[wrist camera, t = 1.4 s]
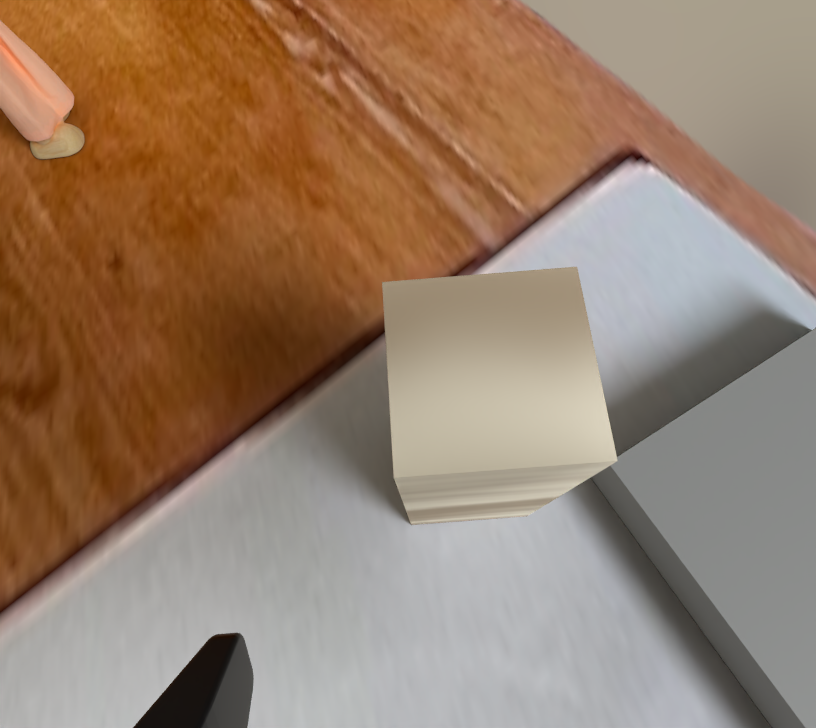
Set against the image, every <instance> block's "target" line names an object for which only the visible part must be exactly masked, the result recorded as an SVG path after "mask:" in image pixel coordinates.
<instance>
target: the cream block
mask: <svg viewBox="0 0 816 728" xmlns="http://www.w3.org/2000/svg"><path fill="white" fill-rule="evenodd" d="M382 286H383V303H384V320H385V337H386V355H387V372H388V389H389V406H390V423H391V440H392V457H393V474H394V480H395V483H396V485H397V488H398V491H399V493H400V496H401V499H402V501H403V504H404V507H405V509H406V512H407V515H408V517H409V520H410V523H411V525H417V524H430V523H443V522H457V521H470V520H484V519H497V518H510V517H524V516H528V515H530V514H531V513H533V512H535V511H536V510H538V509H540V508H541V507H543V506H544V505H546V504H548V503H549V502H551V501H553V500H554V499H556V498H558V497H559V496H561V495H563V494H564V493H566V492H567V491H569V490H571V489H572V488H574V487H576V486H577V485H579V484H581V483H582V482H584V481H586V480H587V479H589V478H591V477H592V476H594V475H595V474H597V473H599V472H600V471H602V470H604V469H605V468H607V467H609V466H610V465H612V464H614V463H615V462H617V461H618V460H617V455H616V450H615V446H614V441H613V436H612V431H611V427H610V422H609V417H608V412H607V407H606V403H605V398H604V393H603V388H602V384H601V379H600V374H599V369H598V365H597V360H596V355H595V350H594V346H593V341H592V336H591V331H590V327H589V322H588V317H587V312H586V307H585V303H584V298H583V293H582V288H581V284H580V279H579V274H578V269H577V267H568V268H555V269H543V270H530V271H517V272H505V273H492V274H480V275H467V276H454V277H442V278H429V279H417V280H404V281H391V282H382Z"/></svg>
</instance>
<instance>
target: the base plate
mask: <svg viewBox="0 0 816 728" xmlns="http://www.w3.org/2000/svg"><path fill="white" fill-rule="evenodd" d="M617 460H618V461H617V462H615V463H614V464H612V465H610V466H609V467H607V468H605V469H604V470H602V471H600V472H599V473H597V474H595V475H594V476H592V477H591V478H592V480H593V481H594V483H595V484H596V485H597V487H598V488H599V489H600V491H601V492H602V494H603V495H604V496H605V498H606V499H607V501H608V502H609V503H610V505H611V506H612V507H613V509H614V510H615V512H616V513H617V514H618V516H619V517H620V518H621V520H622V521H623V523H624V524H625V525H626V527H627V528H628V530H629V531H630V532H631V534H632V535H633V536H634V538H635V539H636V541H637V542H638V543H639V545H640V546H641V547H642V549H643V550H644V552H645V553H646V554H647V556H648V557H649V558H650V560H651V561H652V563H653V564H654V565H655V567H656V568H657V570H658V571H659V572H660V574H661V575H662V576H663V578H664V579H665V581H666V582H667V583H668V585H669V586H670V587H671V589H672V590H673V592H674V593H675V594H676V596H677V597H678V599H679V600H680V601H681V603H682V604H683V605H684V607H685V608H686V610H687V611H688V612H689V614H690V615H691V616H692V618H693V619H694V621H695V622H696V623H697V625H698V626H699V627H700V629H701V630H702V632H703V633H704V634H705V636H706V637H707V639H708V640H709V641H710V643H711V644H712V645H713V647H714V648H715V650H716V651H717V652H718V654H719V655H720V656H721V658H722V659H723V661H724V662H725V663H726V665H727V666H728V668H729V669H730V670H731V672H732V673H733V674H734V676H735V677H736V679H737V680H738V681H739V683H740V684H741V685H742V687H743V688H744V690H745V691H746V692H747V694H748V695H749V696H750V698H751V699H752V701H753V702H754V703H755V705H756V706H757V708H758V709H759V710H760V712H761V713H762V714H763V716H764V717H765V719H766V720H767V721H768V723H769V724H770V725H771V727H772V728H816V328H815V329H813V330H812V331H810V332H809V333H807V334H806V335H804V336H802V337H801V338H799V339H798V340H796V341H795V342H793V343H792V344H790V345H789V346H787V347H785V348H784V349H782V350H781V351H779V352H778V353H776V354H775V355H773V356H772V357H770V358H769V359H767V360H765V361H764V362H762V363H761V364H759V365H758V366H756V367H755V368H753V369H752V370H750V371H748V372H747V373H745V374H744V375H742V376H741V377H739V378H738V379H736V380H735V381H733V382H732V383H730V384H728V385H727V386H725V387H724V388H722V389H721V390H719V391H718V392H716V393H715V394H713V395H712V396H710V397H708V398H707V399H705V400H704V401H702V402H701V403H699V404H698V405H696V406H695V407H693V408H691V409H690V410H688V411H687V412H685V413H684V414H682V415H681V416H679V417H678V418H676V419H675V420H673V421H671V422H670V423H668V424H667V425H665V426H664V427H662V428H661V429H659V430H658V431H656V432H655V433H653V434H651V435H650V436H648V437H647V438H645V439H644V440H642V441H641V442H639V443H638V444H636V445H634V446H633V447H631V448H630V449H628V450H627V451H625V452H624V453H622V454H621V455H619V456H618V457H617Z"/></svg>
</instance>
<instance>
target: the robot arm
mask: <svg viewBox="0 0 816 728" xmlns="http://www.w3.org/2000/svg"><path fill="white" fill-rule="evenodd" d="M252 691H253V669H252V665H251V662H250V658H249V655H248V651H247V647H246V644H245V640H244V638H243V636H242V635H241V634H240V633H227V634H217V635H214V636H212V637H211V638H210V639H209V640H208V641H207V642H206V643H205V644H204V646H203V647H202V648H201V649H200V650H199V651H198V653H197V654H196V655H195V656H194V657H193V658H192V660H191V661H190V662H189V663H188V664H187V665H186V667H185V668H184V669H183V670H182V671H181V672H180V674H179V675H178V676H177V677H176V678H175V679H174V681H173V682H172V683H171V684H170V685H169V686H168V688H167V689H166V690H165V691H164V692H163V693H162V695H161V696H160V697H159V698H158V699H157V700H156V702H155V703H154V704H153V705H152V706H151V707H150V709H149V710H148V711H147V712H146V713H145V714H144V716H143V717H142V718H141V719H140V720H139V721H138V723H137V724H136V725H135V726H134V727H133V728H247V726H248V719H249V712H250V705H251V698H252Z"/></svg>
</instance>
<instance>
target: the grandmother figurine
mask: <svg viewBox="0 0 816 728" xmlns="http://www.w3.org/2000/svg"><path fill="white" fill-rule="evenodd" d="M73 105H74V96H73V94H72V92H71V91H70V90H69V89H68V87H67V86H66V85H65V84H64V83H63V82H62V81H61V79H60V78H59V77H58V76H57V75H56V74H55V73H54V72H53V71H52V70H51V69H50V67H49V66H48V65H47V64H46V63H45V62H44V61H43V60H42V59H41V58H40V57H39V56H38V55H37V54H36V53H35V52H34V51H33V50H32V49H31V48H29V47H28V46H27V45H26V44H25V43H24V42H23V41H22V40H20V39H19V38H18V37H17V36H16V35H15V34H14V33H13V32H12V31H11V30H10V29H9V28H8V27H7V26H6V25H5V24H4V23H3V22H2V21H1V20H0V108H1V109H2V111H3V112H4V113H5V115H6V116H7V117H8V119H9V120H10V121H11V123H12V124H13V125H14V126H15V127H16V128H17V130H18V131H19V132H20V133H21V134H22V135H23V137H24V138H26V139H27V140H29V141H30V149H31V151H32V154H33V155H34V156H35V157H36V158H38V159H51V158H59V157H67V156H70V155H73V154H75V153H77V152H78V151H79V150H80V149H81V148H82V147H83V145H84V134H83V132H82V131H81V130H80V129H79V128H78V127H76V126H74V125H71V124H68V123H64V120H65V119H66V118H67V117H68V116H69V113H70V110H71V109H72V107H73Z"/></svg>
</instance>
